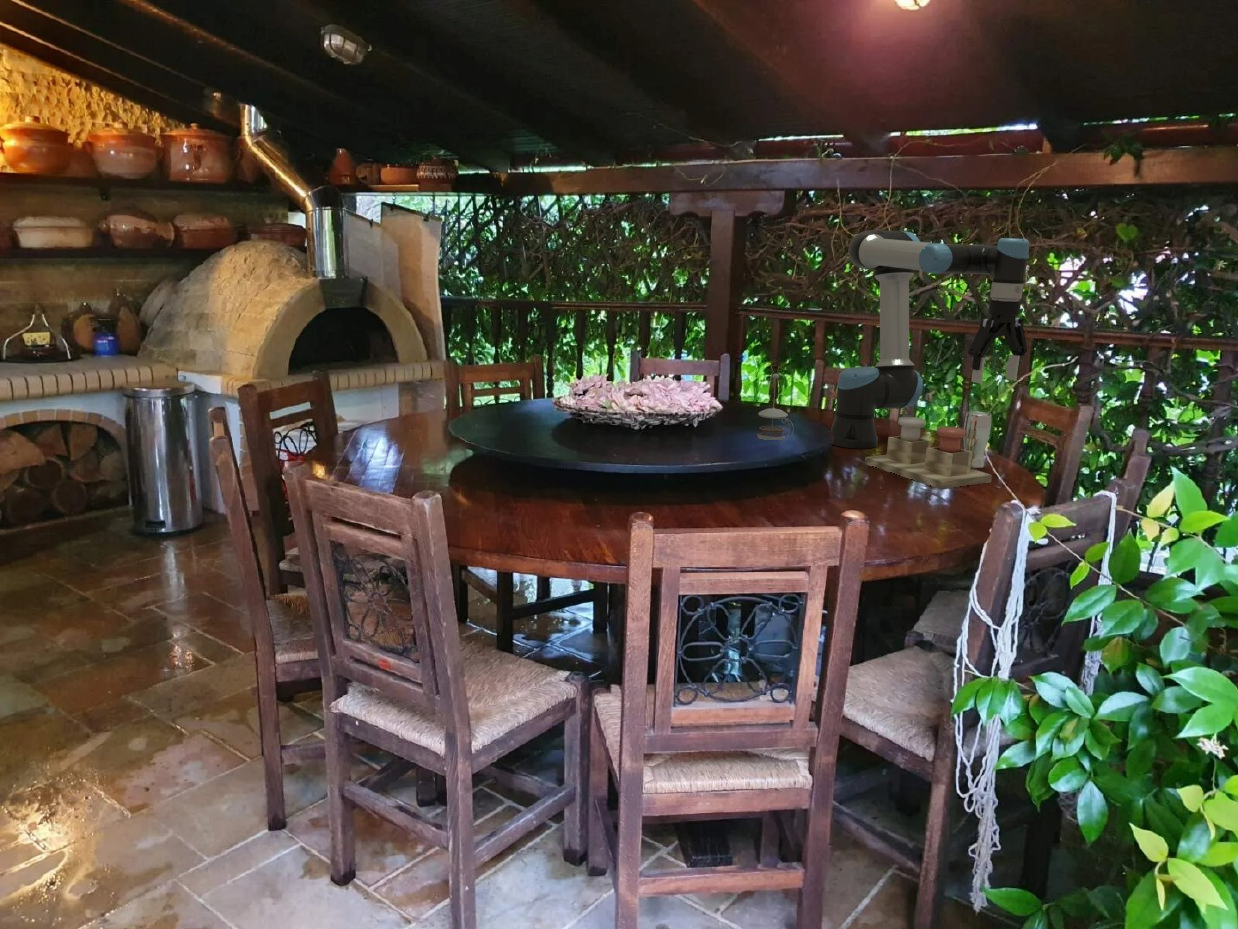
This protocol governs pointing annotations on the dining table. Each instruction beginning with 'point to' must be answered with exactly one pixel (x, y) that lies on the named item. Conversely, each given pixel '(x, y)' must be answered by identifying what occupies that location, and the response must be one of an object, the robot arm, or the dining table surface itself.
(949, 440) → the brown rounded piece
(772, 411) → the french press
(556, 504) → the dining table surface
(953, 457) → the stand
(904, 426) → the grey cylinder
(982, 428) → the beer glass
